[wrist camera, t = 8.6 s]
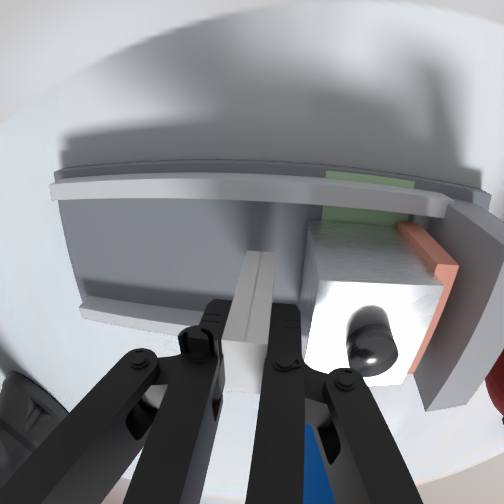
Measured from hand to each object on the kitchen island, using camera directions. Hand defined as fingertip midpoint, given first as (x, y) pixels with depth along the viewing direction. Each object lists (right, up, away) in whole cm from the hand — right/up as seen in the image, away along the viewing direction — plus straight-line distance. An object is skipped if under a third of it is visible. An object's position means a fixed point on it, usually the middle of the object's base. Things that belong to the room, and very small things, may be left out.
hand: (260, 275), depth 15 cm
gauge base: (0, +1, +3) cm, 3 cm away
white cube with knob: (+5, 0, +1) cm, 5 cm away
